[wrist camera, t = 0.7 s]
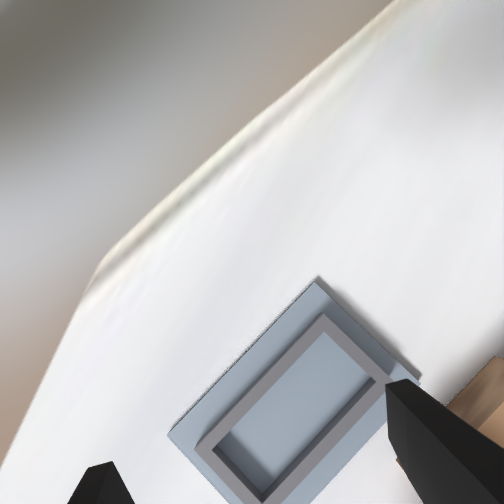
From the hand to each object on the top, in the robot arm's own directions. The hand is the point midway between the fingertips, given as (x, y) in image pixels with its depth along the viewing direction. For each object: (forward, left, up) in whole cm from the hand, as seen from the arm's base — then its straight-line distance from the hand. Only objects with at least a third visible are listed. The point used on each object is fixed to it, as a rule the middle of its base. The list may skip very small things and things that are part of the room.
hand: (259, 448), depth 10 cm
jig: (-5, +3, -23) cm, 23 cm away
